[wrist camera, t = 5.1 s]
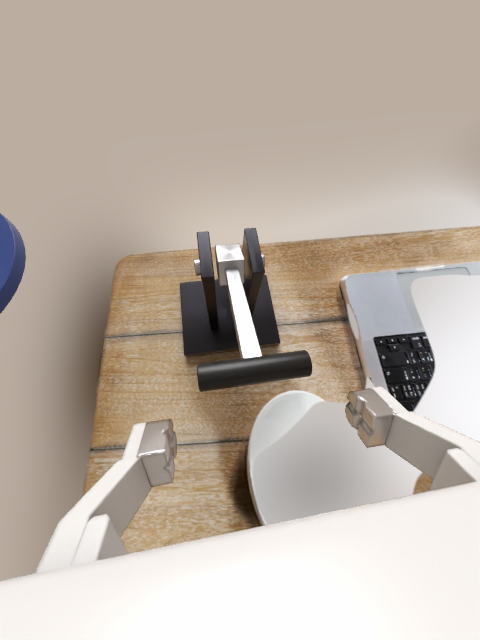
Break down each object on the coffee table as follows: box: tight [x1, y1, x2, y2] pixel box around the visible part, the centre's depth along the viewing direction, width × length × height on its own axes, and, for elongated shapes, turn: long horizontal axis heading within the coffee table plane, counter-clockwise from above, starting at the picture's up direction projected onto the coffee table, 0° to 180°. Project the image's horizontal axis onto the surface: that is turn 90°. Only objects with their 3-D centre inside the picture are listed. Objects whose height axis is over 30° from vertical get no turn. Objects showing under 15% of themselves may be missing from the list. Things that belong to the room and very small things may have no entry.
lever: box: [197, 244, 312, 392], centre depth 17 cm, size 13×6×2 cm, turn 8°
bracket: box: [180, 228, 280, 357], centre depth 25 cm, size 10×12×14 cm
